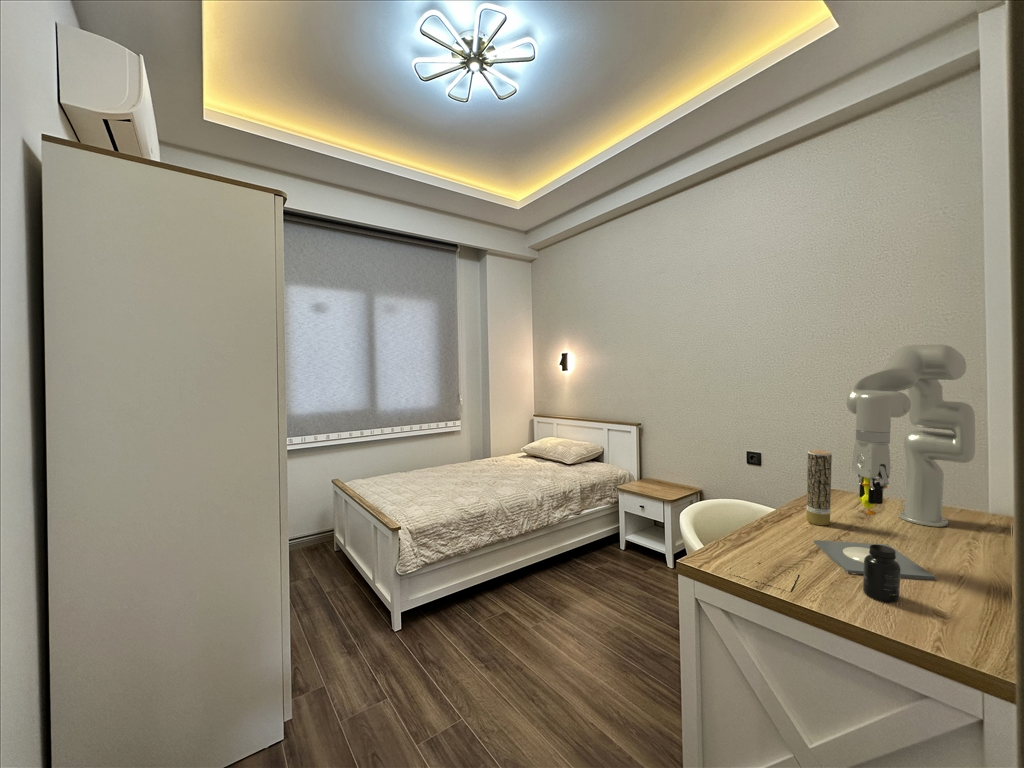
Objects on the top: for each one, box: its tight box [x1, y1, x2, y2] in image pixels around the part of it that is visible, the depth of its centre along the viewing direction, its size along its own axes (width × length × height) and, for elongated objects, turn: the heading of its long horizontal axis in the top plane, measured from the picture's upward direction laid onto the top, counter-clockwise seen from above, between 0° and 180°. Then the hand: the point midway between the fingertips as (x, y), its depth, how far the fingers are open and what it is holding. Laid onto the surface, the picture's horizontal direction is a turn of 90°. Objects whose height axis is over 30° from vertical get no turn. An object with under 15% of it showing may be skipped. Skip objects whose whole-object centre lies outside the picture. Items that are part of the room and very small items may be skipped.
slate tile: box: [813, 539, 936, 581], centre depth 127 cm, size 20×20×1 cm
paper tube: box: [806, 449, 833, 526], centre depth 154 cm, size 7×7×25 cm
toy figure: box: [856, 477, 889, 516], centre depth 125 cm, size 7×4×12 cm, turn 49°
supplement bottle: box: [862, 543, 901, 604], centre depth 107 cm, size 7×7×12 cm
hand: (870, 500), depth 126 cm, fingers closed on toy figure, 3 cm apart
